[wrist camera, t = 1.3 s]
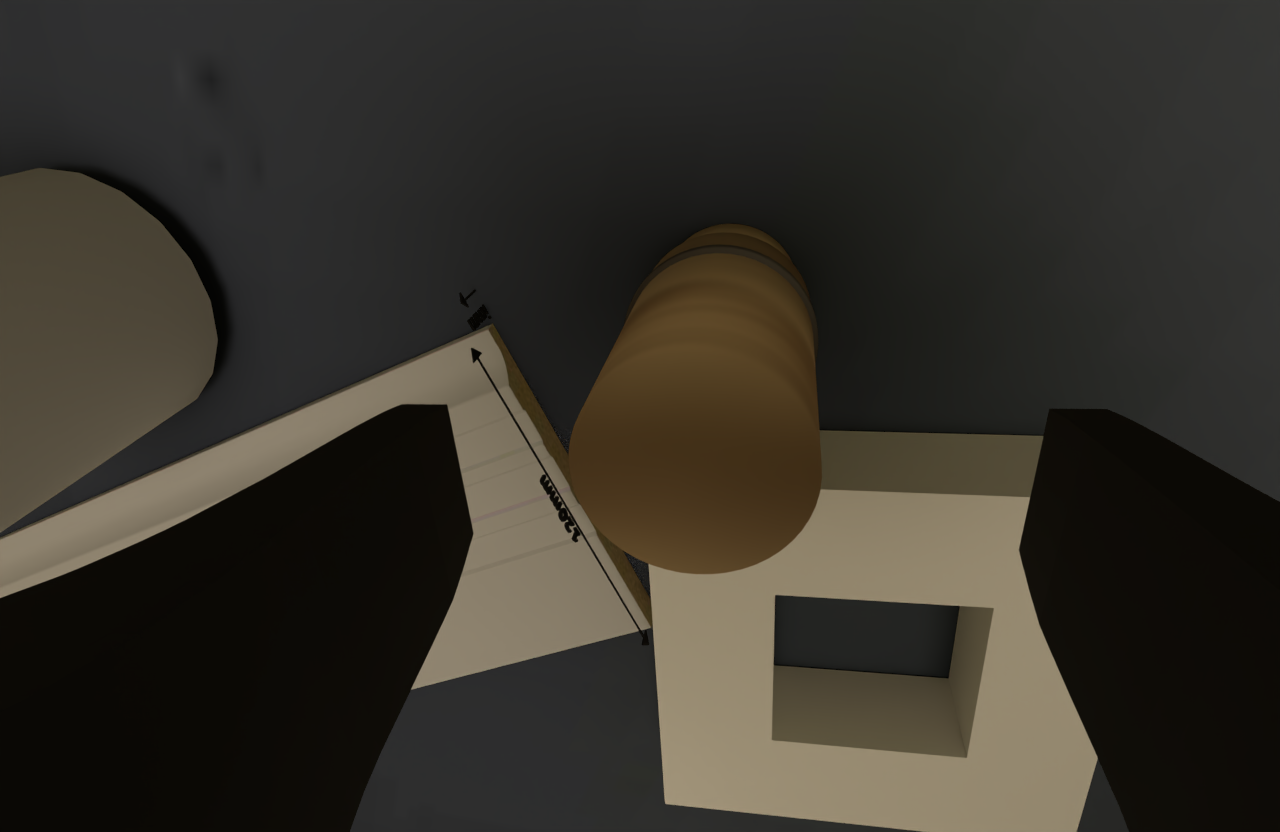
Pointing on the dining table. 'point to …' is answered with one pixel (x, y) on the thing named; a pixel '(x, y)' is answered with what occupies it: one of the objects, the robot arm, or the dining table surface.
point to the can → (88, 331)
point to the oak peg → (706, 410)
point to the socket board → (875, 702)
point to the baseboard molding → (495, 491)
